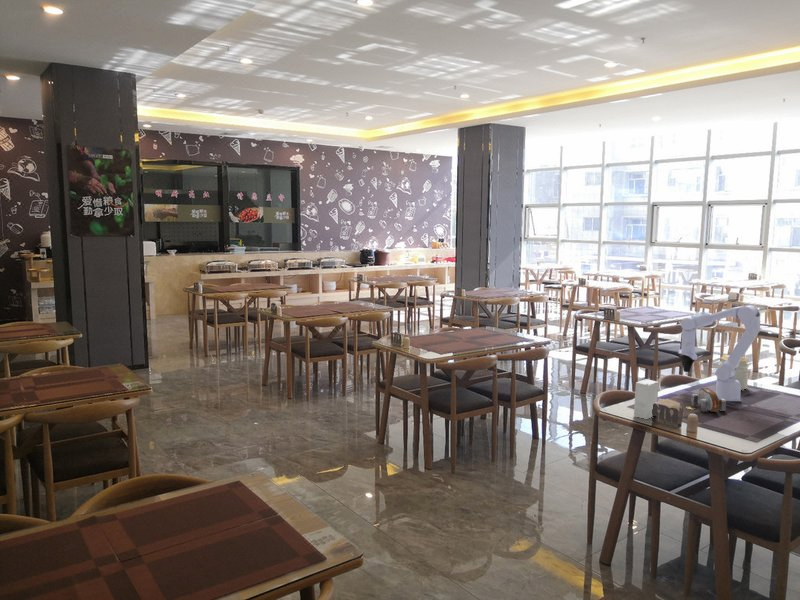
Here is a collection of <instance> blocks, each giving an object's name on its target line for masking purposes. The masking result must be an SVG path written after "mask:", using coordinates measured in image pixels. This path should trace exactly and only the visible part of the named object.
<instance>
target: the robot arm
mask: <svg viewBox="0 0 800 600" xmlns="http://www.w3.org/2000/svg"><path fill="white" fill-rule="evenodd" d="M729 317H732V318H735V319H739V320H740V321H741V322H742V323H743V325H744V327H745V330H744V332H743V334H742V335H741V337H740V338H739V339H738V341H737V343H736V344H735V346H734V348H733V349H732V351H731V353H730V354H729V355H730V356H729V357H728V359H727V360H726V361H725V362H724V363H723V365H722V366H721V367H720V366H719V367H717V369H716V370H715V375H716V387H715V393H716V394H717V396H718V399H725V400H726V402H742V400H741V384H740V382H739V381H738V380H735V379H734V376H735V375H736V373H737V367H738V366H739V362H740V361H741V359H742V358H743V357H745V354H746V353H747V352H748V350H749V348H750V347H751V345H752V344H753V342H754V340H755V339H756V338H757V336H758V334H759V333H760V331H761V313H760V311H759V309H758V307H757V306H756V305H754V304H747V305H745V306H744V305H741V306H734V307H730V308H728V309H727V308H726V309H725V310H721V311H717V312H714V313H710V312H708V311H707V312H706V311H702V312H701V313H700V314H696V315H694V314H693V315H691V316H689V317H685V318H684V319H682V320H681V323H680V327H681V329H682V332H681V344H680V345H681V346H680V347H681V348H679V349H678V351H677V353H678V355H680V356H679V359H680V361H681V365H682V369H683V372H684V373H689V372H690V371H691V368H692V365H693V363H694V362H695V361H697V360H698V355H697V354H696V352H695V350H696V349H695V348H696V331H697V329H699V328H703V327H707V326H710V325H712V324H714V322H715V321H718V320H721V319H726V318H729Z"/></svg>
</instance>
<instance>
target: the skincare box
mask: <svg viewBox="0 0 800 600" xmlns="http://www.w3.org/2000/svg"><path fill="white" fill-rule="evenodd" d="M659 383H660V382H659V381H657V380H652V379H648V378H645V379H643V380H638V381H637V382H635V390H634V403H633V405H634V407H633V417H634V416H636V417H635V418H637V417H640V418H639V419H641V418H644V419H648V418H650V419H652V418H653V417H652V409H653V404H654V403H655V402H657V403H658V399H659V398H658V395H659ZM651 417H652V418H651ZM644 419H643V420H644ZM648 420H649V419H648Z"/></svg>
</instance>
